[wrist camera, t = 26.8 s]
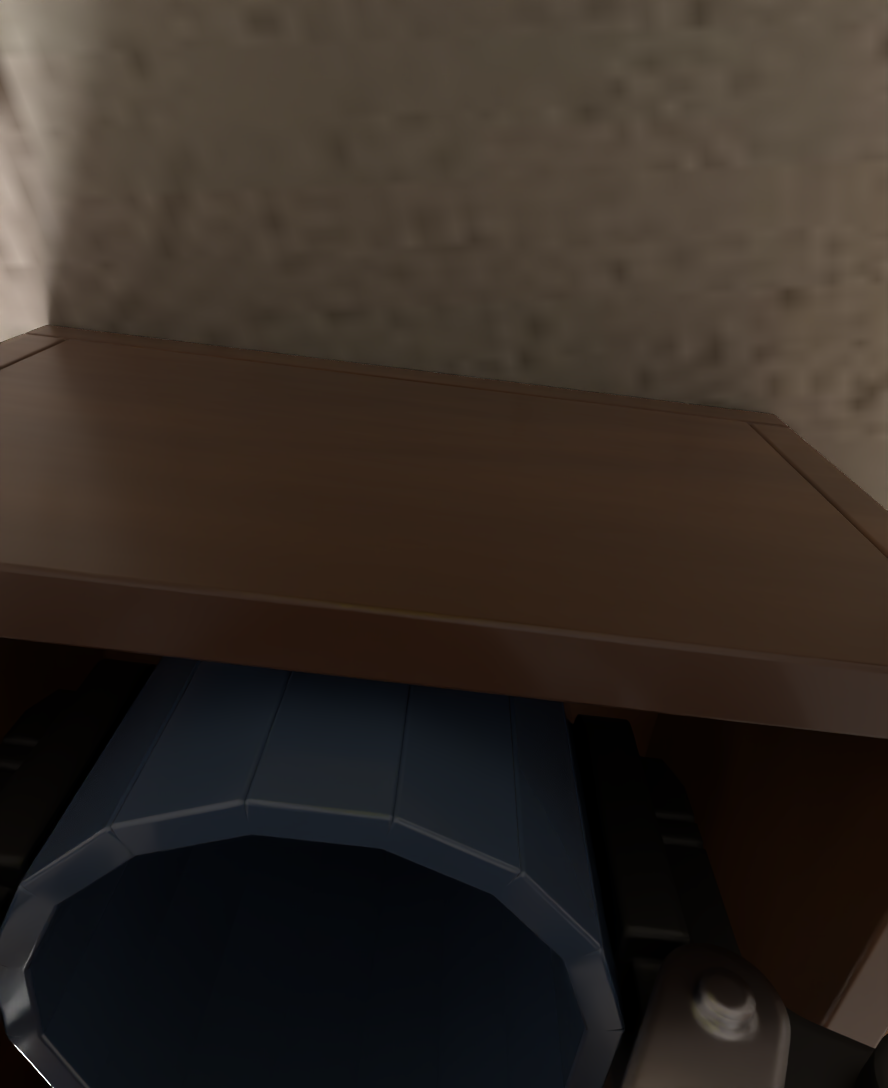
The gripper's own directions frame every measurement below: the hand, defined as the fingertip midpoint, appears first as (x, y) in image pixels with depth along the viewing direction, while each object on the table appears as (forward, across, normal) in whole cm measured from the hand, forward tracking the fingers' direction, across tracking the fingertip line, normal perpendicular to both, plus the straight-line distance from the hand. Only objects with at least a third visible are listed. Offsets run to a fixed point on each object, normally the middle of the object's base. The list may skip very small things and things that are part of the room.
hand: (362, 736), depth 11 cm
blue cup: (+1, 0, 0) cm, 1 cm away
